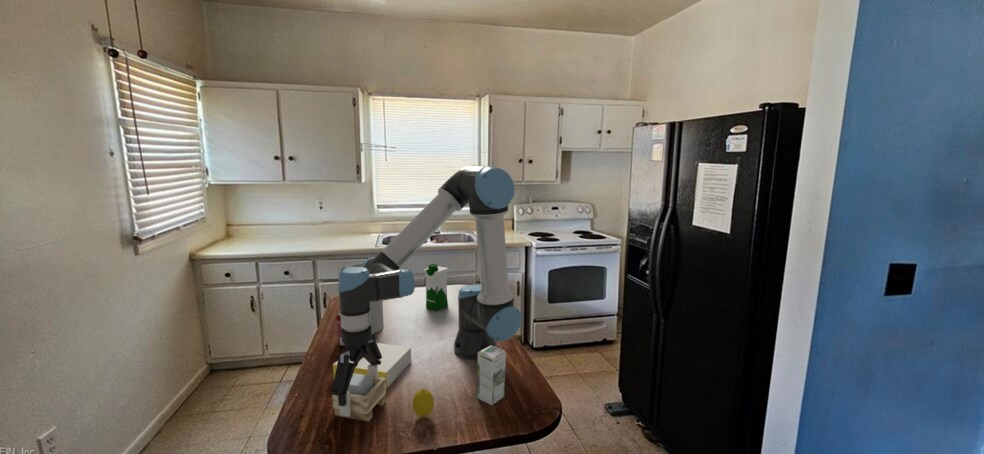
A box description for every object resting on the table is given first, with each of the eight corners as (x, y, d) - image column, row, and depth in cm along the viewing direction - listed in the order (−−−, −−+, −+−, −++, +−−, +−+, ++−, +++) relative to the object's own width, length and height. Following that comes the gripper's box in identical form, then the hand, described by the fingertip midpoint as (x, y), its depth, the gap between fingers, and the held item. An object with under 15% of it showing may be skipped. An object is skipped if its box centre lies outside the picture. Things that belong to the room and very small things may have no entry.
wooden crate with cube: (386, 400, 118) (385, 378, 116) (367, 423, 108) (366, 398, 107) (355, 395, 120) (353, 373, 119) (333, 416, 111) (332, 392, 109)
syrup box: (489, 389, 123) (489, 343, 120) (505, 397, 119) (506, 350, 117) (476, 398, 119) (476, 351, 116) (492, 406, 115) (493, 357, 112)
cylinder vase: (346, 327, 166) (342, 266, 161) (376, 319, 173) (373, 261, 168) (356, 338, 156) (353, 273, 151) (388, 330, 163) (385, 268, 159)
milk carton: (422, 308, 185) (421, 265, 181) (436, 302, 193) (435, 260, 189) (438, 312, 180) (437, 268, 177) (451, 306, 188) (450, 263, 184)
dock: (411, 361, 139) (410, 347, 138) (386, 388, 124) (386, 372, 123) (363, 354, 144) (362, 340, 143) (333, 379, 128) (332, 364, 127)
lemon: (435, 410, 113) (434, 383, 112) (433, 423, 108) (432, 395, 106) (414, 410, 113) (413, 383, 112) (411, 424, 108) (410, 395, 106)
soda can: (351, 348, 148) (349, 316, 146) (334, 346, 149) (332, 314, 147) (361, 340, 155) (359, 309, 152) (344, 338, 156) (342, 307, 154)
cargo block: (373, 389, 115) (372, 376, 114) (363, 400, 110) (362, 386, 110) (357, 387, 116) (356, 374, 116) (346, 397, 112) (345, 383, 111)
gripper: (368, 307, 123) (372, 374, 126) (312, 345, 99) (318, 426, 103) (392, 310, 121) (394, 378, 125) (340, 349, 97) (345, 431, 101)
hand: (360, 400), depth 114 cm, fingers open, 13 cm apart
